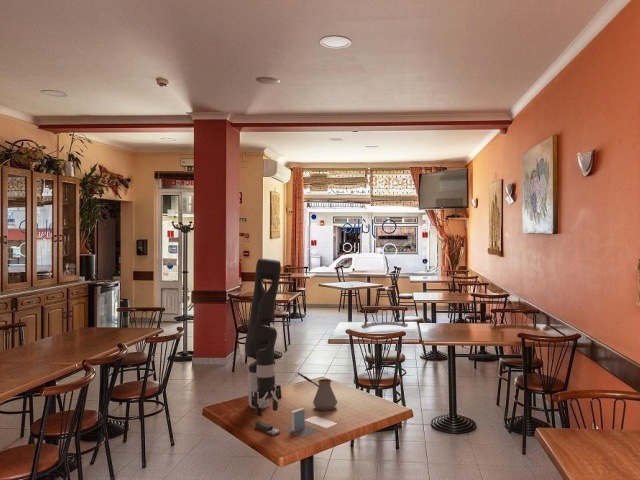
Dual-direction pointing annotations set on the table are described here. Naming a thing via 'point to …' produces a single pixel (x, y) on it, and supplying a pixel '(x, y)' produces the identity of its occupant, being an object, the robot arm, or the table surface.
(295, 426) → the tile
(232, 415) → the table surface
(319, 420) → the rest pad
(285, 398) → the table surface
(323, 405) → the coffee pot
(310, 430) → the mat
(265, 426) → the grey post on base
